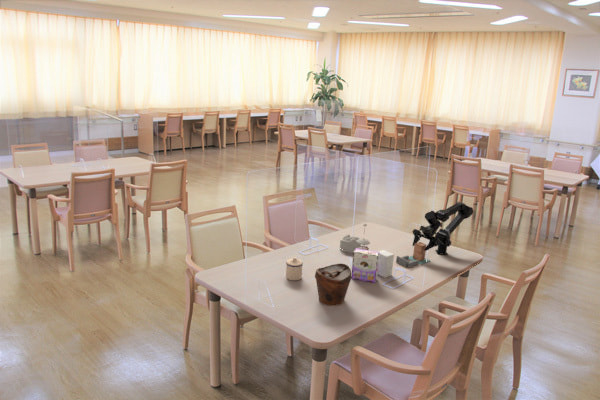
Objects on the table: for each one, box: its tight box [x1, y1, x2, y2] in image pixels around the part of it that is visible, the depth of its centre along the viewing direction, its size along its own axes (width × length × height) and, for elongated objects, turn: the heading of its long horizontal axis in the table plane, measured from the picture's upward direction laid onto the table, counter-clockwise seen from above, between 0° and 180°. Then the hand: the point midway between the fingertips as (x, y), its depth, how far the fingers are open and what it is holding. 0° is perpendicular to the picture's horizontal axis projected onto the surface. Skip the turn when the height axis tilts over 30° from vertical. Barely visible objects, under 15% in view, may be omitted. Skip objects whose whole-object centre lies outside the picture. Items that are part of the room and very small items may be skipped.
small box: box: [377, 249, 395, 278], centre depth 281 cm, size 8×6×13 cm
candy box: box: [351, 248, 380, 284], centre depth 274 cm, size 14×6×16 cm, turn 71°
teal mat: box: [408, 255, 431, 266], centre depth 306 cm, size 10×11×1 cm
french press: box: [357, 223, 371, 251], centre depth 294 cm, size 10×12×25 cm
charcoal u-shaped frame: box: [395, 254, 419, 268], centre depth 299 cm, size 10×9×4 cm
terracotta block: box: [412, 241, 427, 261], centre depth 304 cm, size 5×5×10 cm
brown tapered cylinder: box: [314, 263, 352, 307], centre depth 248 cm, size 18×20×18 cm
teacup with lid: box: [285, 256, 303, 281], centre depth 273 cm, size 12×9×12 cm
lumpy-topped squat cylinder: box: [339, 234, 362, 253], centre depth 315 cm, size 10×13×9 cm
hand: (418, 248), depth 303 cm, fingers open, 9 cm apart
